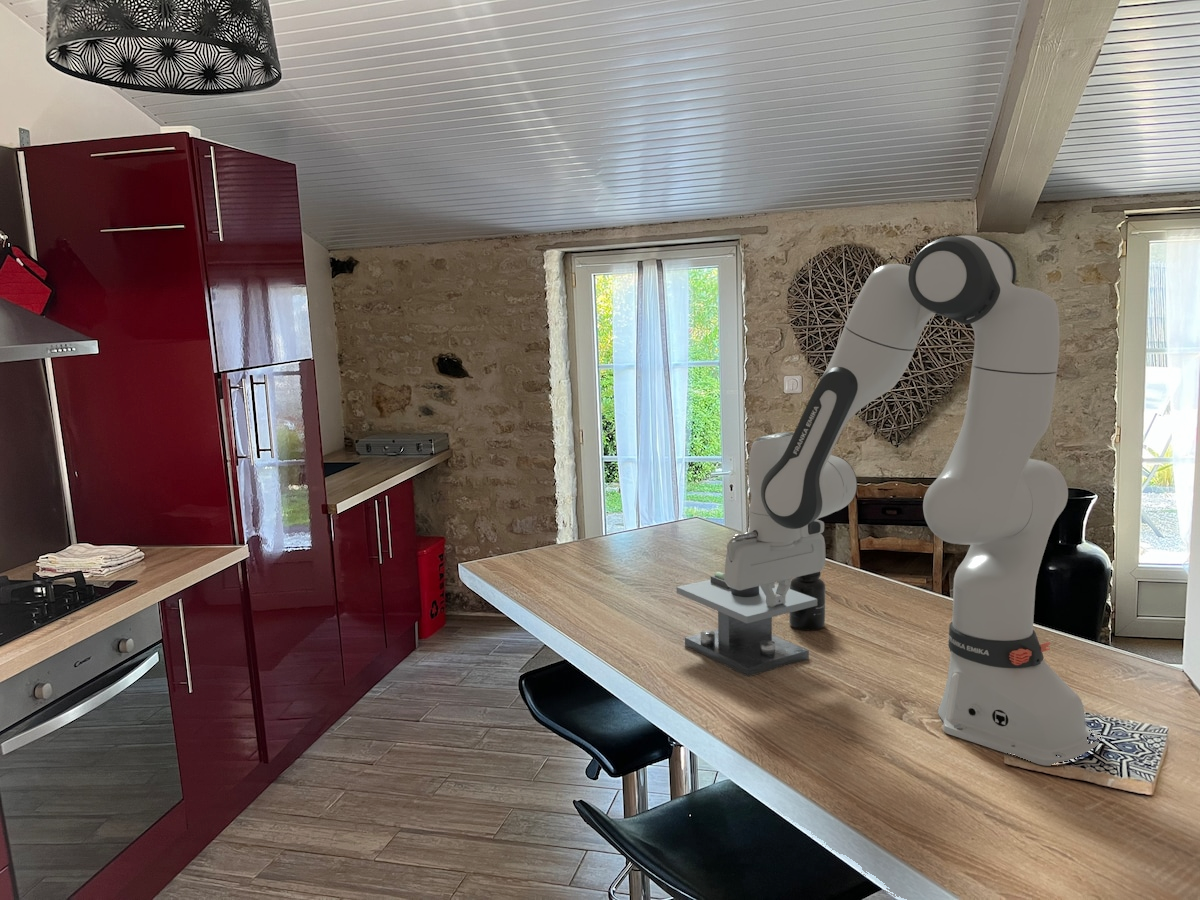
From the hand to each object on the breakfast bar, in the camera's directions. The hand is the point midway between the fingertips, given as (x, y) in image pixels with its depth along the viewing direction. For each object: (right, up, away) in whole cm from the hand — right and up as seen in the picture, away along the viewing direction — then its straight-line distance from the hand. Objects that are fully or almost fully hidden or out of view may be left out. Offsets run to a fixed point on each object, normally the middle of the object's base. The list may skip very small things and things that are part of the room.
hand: (775, 604), depth 161 cm
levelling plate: (-4, 0, +7) cm, 8 cm away
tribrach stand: (-4, -10, +9) cm, 14 cm away
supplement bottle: (+10, -8, +22) cm, 25 cm away
